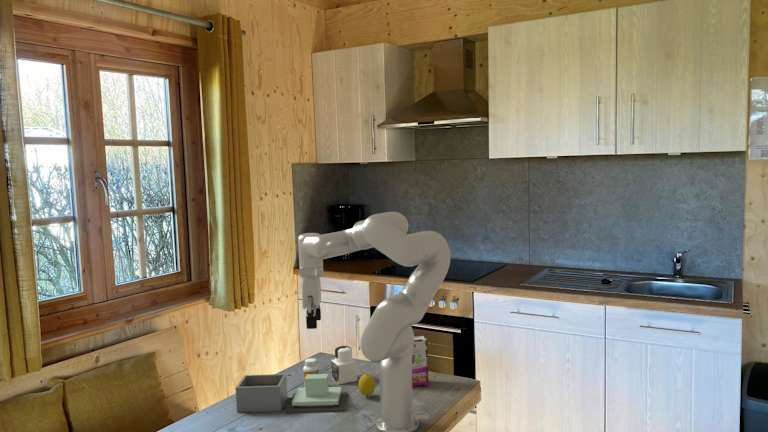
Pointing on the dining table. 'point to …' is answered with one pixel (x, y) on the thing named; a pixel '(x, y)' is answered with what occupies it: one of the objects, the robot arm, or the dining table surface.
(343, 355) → the medicine bottle
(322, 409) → the mat
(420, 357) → the candy bar box
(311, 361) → the supplement bottle
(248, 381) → the storage box
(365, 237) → the robot arm
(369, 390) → the lemon
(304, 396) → the lid
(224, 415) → the dining table surface
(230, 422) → the dining table surface
